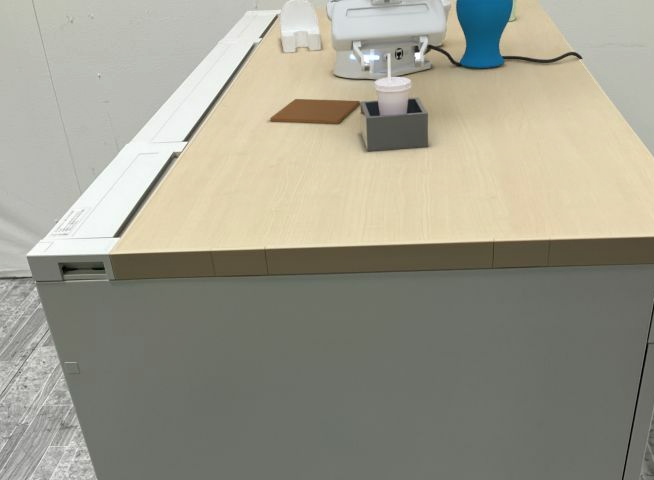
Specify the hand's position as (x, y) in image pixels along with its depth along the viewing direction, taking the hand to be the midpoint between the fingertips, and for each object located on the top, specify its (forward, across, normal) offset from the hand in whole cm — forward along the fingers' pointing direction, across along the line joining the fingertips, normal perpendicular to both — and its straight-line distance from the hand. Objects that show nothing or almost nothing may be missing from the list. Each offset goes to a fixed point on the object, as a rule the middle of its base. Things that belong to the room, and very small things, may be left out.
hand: (392, 67), depth 143 cm
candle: (-60, +44, +76) cm, 107 cm away
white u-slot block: (-52, -13, +68) cm, 87 cm away
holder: (+10, 0, +5) cm, 12 cm away
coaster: (-5, -13, +21) cm, 25 cm away
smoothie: (+10, 0, +6) cm, 12 cm away
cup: (-43, +19, +58) cm, 75 cm away
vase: (-26, +27, +42) cm, 56 cm away
